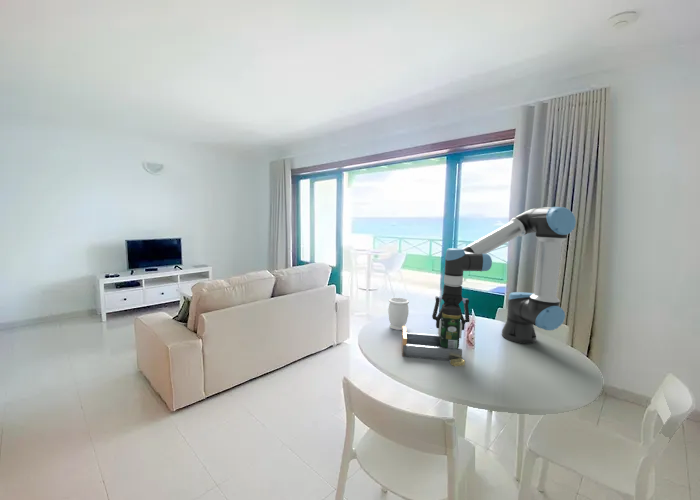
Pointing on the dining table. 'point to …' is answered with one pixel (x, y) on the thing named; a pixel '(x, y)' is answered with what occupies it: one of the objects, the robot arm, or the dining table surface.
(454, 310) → the coffee jar
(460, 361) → the brass key block
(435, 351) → the channel
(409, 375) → the dining table surface
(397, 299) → the jar
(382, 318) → the dining table surface
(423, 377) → the dining table surface
